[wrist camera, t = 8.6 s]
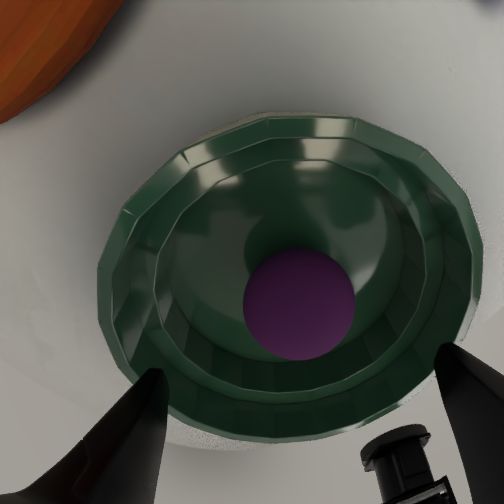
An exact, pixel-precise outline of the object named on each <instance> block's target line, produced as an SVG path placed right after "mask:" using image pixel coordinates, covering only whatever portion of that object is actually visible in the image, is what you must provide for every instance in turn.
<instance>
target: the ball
mask: <svg viewBox="0 0 504 504" xmlns="http://www.w3.org/2000/svg"><path fill="white" fill-rule="evenodd" d="M243 313H244V319H245V322H246V325H247V327H248V329H249V331H250V333H251V335H252V336H253V338H254V339H255V340H256V341H257V342H258V343H259V344H260V345H261V346H262V347H263V348H264V349H265V350H267V351H268V352H270V353H272V354H274V355H276V356H278V357H281V358H285V359H289V360H308V359H312V358H316V357H319V356H321V355H323V354H325V353H327V352H329V351H330V350H332V349H333V348H334V347H335V346H337V345H338V344H339V343H340V342H341V340H342V339H343V338H344V337H345V335H346V334H347V332H348V330H349V328H350V326H351V324H352V321H353V317H354V313H355V294H354V289H353V286H352V283H351V281H350V279H349V276H348V275H347V273H346V272H345V270H344V269H343V268H342V267H341V265H340V264H339V263H338V262H336V261H335V260H334V259H333V258H331V257H330V256H328V255H326V254H324V253H322V252H320V251H317V250H314V249H309V248H291V249H286V250H283V251H280V252H277V253H275V254H273V255H271V256H270V257H268V258H267V259H265V260H264V261H263V262H262V263H260V264H259V266H258V267H257V268H256V269H255V270H254V272H253V273H252V275H251V276H250V278H249V280H248V282H247V285H246V288H245V291H244V296H243Z"/></svg>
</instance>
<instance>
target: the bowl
mask: <svg viewBox="0 0 504 504" xmlns="http://www.w3.org/2000/svg"><path fill="white" fill-rule="evenodd" d="M291 248H309V249H314V250H317V251H320V252H322V253H324V254H326V255H328V256H330V257H331V258H333V259H334V260H335V261H336V262H338V263H339V264H340V265H341V267H342V268H343V269H344V270H345V272H346V273H347V275H348V276H349V279H350V281H351V283H352V286H353V289H354V294H355V313H354V317H353V321H352V324H351V326H350V328H349V330H348V332H347V334H346V335H345V337H344V338H343V339H342V340H341V342H340V343H339V344H338V345H337V346H335V347H334V348H333V349H332V350H330V351H329V352H327V353H325V354H323V355H321V356H319V357H316V358H312V359H308V360H289V359H285V358H281V357H278V356H276V355H274V354H272V353H270V352H268V351H267V350H265V349H264V348H263V347H262V346H261V345H260V344H259V343H258V342H257V341H256V340H255V339H254V338H253V336H252V335H251V333H250V331H249V329H248V327H247V325H246V322H245V319H244V313H243V296H244V291H245V288H246V285H247V282H248V280H249V278H250V276H251V275H252V273H253V272H254V270H255V269H256V268H257V267H258V266H259V264H260V263H262V262H263V261H264V260H265V259H267V258H268V257H270V256H271V255H273V254H275V253H277V252H280V251H283V250H286V249H291ZM482 270H483V243H482V239H481V236H480V233H479V229H478V226H477V223H476V220H475V217H474V214H473V211H472V208H471V205H470V202H469V200H468V197H467V195H466V193H465V192H464V191H463V190H462V189H461V187H460V186H459V185H458V184H457V183H456V181H455V180H454V179H453V178H452V177H451V176H450V175H449V173H448V172H447V171H446V170H445V169H444V168H443V167H442V166H441V164H440V163H439V162H438V161H437V160H436V159H435V158H434V157H433V156H432V155H431V154H430V153H429V152H428V151H427V150H426V149H425V148H423V147H422V146H420V145H418V144H416V143H414V142H412V141H410V140H408V139H405V138H403V137H401V136H399V135H397V134H394V133H392V132H390V131H388V130H385V129H383V128H381V127H378V126H376V125H374V124H371V123H369V122H366V121H364V120H361V119H359V118H355V117H351V116H344V115H337V114H329V113H320V112H265V113H257V114H254V115H251V116H249V117H246V118H243V119H241V120H238V121H235V122H233V123H230V124H228V125H225V126H223V127H220V128H218V129H215V130H213V131H210V132H208V133H205V134H204V135H202V136H201V137H199V138H198V139H196V140H195V141H193V142H192V143H190V144H189V145H187V146H186V147H184V148H183V149H182V150H180V151H179V152H178V153H176V154H175V155H174V156H173V157H172V158H171V159H170V160H169V161H168V162H167V163H166V164H164V165H163V166H162V167H161V168H160V169H159V170H158V171H157V172H156V173H155V174H154V175H153V176H152V177H151V178H150V179H149V180H148V181H147V182H146V183H145V184H143V185H142V186H141V187H140V188H139V189H138V190H137V191H136V192H135V193H134V194H133V195H132V196H131V197H130V198H129V199H128V200H127V202H126V203H125V204H124V206H123V207H122V208H121V210H120V213H119V215H118V217H117V219H116V222H115V224H114V226H113V228H112V231H111V233H110V236H109V238H108V240H107V243H106V245H105V248H104V250H103V253H102V255H101V258H100V260H99V263H98V267H97V303H98V321H99V325H100V327H101V330H102V332H103V335H104V337H105V340H106V342H107V344H108V347H109V349H110V351H111V354H112V356H113V358H114V360H115V363H116V365H117V367H118V368H119V369H120V370H121V372H122V373H123V374H124V375H125V376H126V377H127V378H128V380H129V381H130V382H131V383H132V384H134V383H135V382H136V381H137V380H138V379H139V378H140V377H141V376H142V375H143V374H144V373H145V372H146V371H147V370H148V369H149V368H151V367H156V368H162V369H163V370H164V373H165V375H166V378H167V381H168V384H169V402H168V414H170V415H171V416H173V417H174V418H176V419H178V420H179V421H181V422H183V423H184V424H187V425H189V426H192V427H194V428H197V429H200V430H203V431H206V432H209V433H212V434H215V435H218V436H221V437H224V438H229V439H233V440H241V441H249V442H259V443H269V444H273V443H274V444H277V443H290V442H301V441H311V440H318V439H322V438H326V437H330V436H333V435H337V434H340V433H343V432H347V431H350V430H353V429H356V428H360V427H361V426H364V425H366V424H368V423H370V422H372V421H374V420H376V419H378V418H380V417H382V416H384V415H385V414H387V413H389V412H391V411H393V410H394V409H396V408H398V407H400V406H401V405H403V404H404V403H406V402H407V401H408V400H409V399H411V398H412V397H413V396H414V395H416V393H418V392H419V391H420V390H421V389H423V388H424V387H425V386H426V385H427V384H429V383H430V382H431V381H432V380H433V379H434V378H435V377H436V374H435V371H434V367H433V362H434V358H435V356H436V354H437V351H438V349H439V347H440V345H441V344H443V343H447V342H453V343H455V344H456V345H458V346H460V344H461V343H462V341H463V339H464V338H465V335H466V333H467V331H468V328H469V326H470V323H471V321H472V318H473V316H474V313H475V310H476V308H477V305H478V302H479V299H480V295H481V286H482Z"/></svg>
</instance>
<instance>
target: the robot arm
mask: <svg viewBox="0 0 504 504" xmlns="http://www.w3.org/2000/svg"><path fill="white" fill-rule="evenodd" d="M433 367H434V371H435V374H436V378H437V381H438V385H439V389H440V393H441V397H442V400H443V404H444V407H445V410H446V413H447V416H448V418H449V421H450V424H451V427H452V430H453V433H454V436H455V439H456V442H457V445H458V449H459V452H460V456H461V459H462V462H463V466H464V469H465V473H466V477H467V481H468V484H469V488H470V492H471V497H472V501H473V504H504V375H502V374H501V373H499V372H498V371H496V370H494V369H493V368H492V367H490V366H488V365H487V364H485V363H484V362H482V361H481V360H479V359H478V358H476V357H475V356H473V355H472V354H470V353H468V352H467V351H465V350H464V349H462V348H460V347H459V346H458V345H456V344H455V343H453V342H447V343H443V344H441V345H440V347H439V349H438V351H437V354H436V356H435V358H434V362H433ZM168 402H169V384H168V381H167V378H166V375H165V373H164V370H163V369H162V368H156V367H151V368H149V369H148V370H147V371H146V372H145V373H144V374H143V375H142V376H141V377H140V378H139V379H138V380H137V381H136V382H135V383H134V384H133V385H132V386H131V388H130V389H129V390H128V391H127V392H126V393H125V394H124V395H123V396H122V397H121V398H120V399H119V400H118V401H117V402H116V403H115V405H114V406H113V407H112V408H111V409H110V410H109V411H108V412H107V413H106V414H105V415H104V416H103V417H102V418H101V419H100V420H99V422H98V423H97V424H96V425H95V426H94V427H93V428H92V429H91V430H90V431H89V432H88V433H87V434H86V435H85V436H84V437H83V440H80V442H78V444H77V445H76V446H75V447H74V448H73V449H72V450H71V451H70V452H69V453H68V454H67V455H66V456H65V457H63V458H62V459H61V460H60V461H59V462H58V463H57V464H56V465H54V466H53V467H52V468H51V469H49V471H47V472H46V473H45V474H43V475H42V476H41V477H40V478H38V479H37V480H36V481H35V482H34V483H32V484H31V485H30V486H28V487H27V488H25V489H23V490H21V491H18V492H15V493H9V494H2V495H0V504H154V498H155V492H156V486H157V480H158V475H159V469H160V464H161V457H162V453H163V447H164V442H165V437H166V429H167V416H168ZM430 437H431V434H430V433H425V434H422V435H418V436H415V437H411V438H407V439H404V440H400V441H396V442H392V443H388V444H383V445H380V446H378V447H377V448H376V449H375V451H374V453H373V455H372V456H371V458H370V460H369V461H368V463H367V465H366V466H365V468H364V470H365V472H369V471H374V470H375V472H376V476H377V480H378V484H379V488H380V492H381V496H382V500H383V504H457V501H456V499H455V496H454V493H453V491H452V488H451V486H450V483H449V480H448V478H447V476H444V477H442V478H441V479H439V480H437V481H435V482H434V479H433V476H432V473H431V470H430V466H429V463H428V460H427V457H426V455H425V452H424V449H423V447H424V446H425V444H426V443H427V441H428V440H429V439H430ZM443 490H444V492H445V493H443V494H441V495H440V493H439V492H441V491H443Z"/></svg>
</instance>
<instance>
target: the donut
mask: <svg viewBox="0 0 504 504" xmlns="http://www.w3.org/2000/svg"><path fill="white" fill-rule="evenodd" d="M124 1H125V0H0V124H2V123H5V122H6V121H8V120H10V119H12V118H13V117H15V116H17V115H18V114H19V113H21V112H22V111H23V110H25V109H26V108H27V107H29V106H30V105H31V104H33V103H34V102H35V101H37V100H38V99H40V98H41V97H42V96H44V95H45V94H47V93H48V92H50V91H51V90H53V89H54V87H55V86H56V85H57V84H58V83H59V82H60V81H61V79H62V78H63V77H64V76H65V75H66V74H67V73H68V72H69V71H70V70H71V68H72V67H73V66H74V65H75V64H76V63H77V62H78V61H79V60H80V59H81V58H82V57H83V56H84V55H85V54H86V53H87V52H88V51H89V50H90V49H91V48H92V46H93V45H94V43H95V42H96V40H97V39H98V37H99V36H100V34H101V33H102V31H103V30H104V28H105V27H106V25H107V24H108V22H109V21H110V20H111V18H112V17H113V16H114V14H115V13H116V11H117V10H118V9H119V7H120V6H121V5H122V4H123V2H124Z"/></svg>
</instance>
